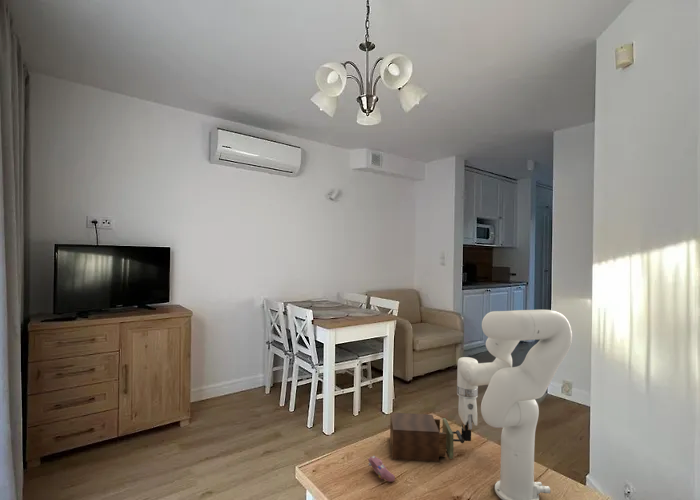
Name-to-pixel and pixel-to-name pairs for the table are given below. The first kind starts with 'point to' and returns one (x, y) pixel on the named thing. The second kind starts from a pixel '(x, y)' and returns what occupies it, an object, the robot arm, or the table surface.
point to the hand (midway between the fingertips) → (466, 439)
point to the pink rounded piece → (380, 469)
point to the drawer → (447, 438)
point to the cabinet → (414, 437)
